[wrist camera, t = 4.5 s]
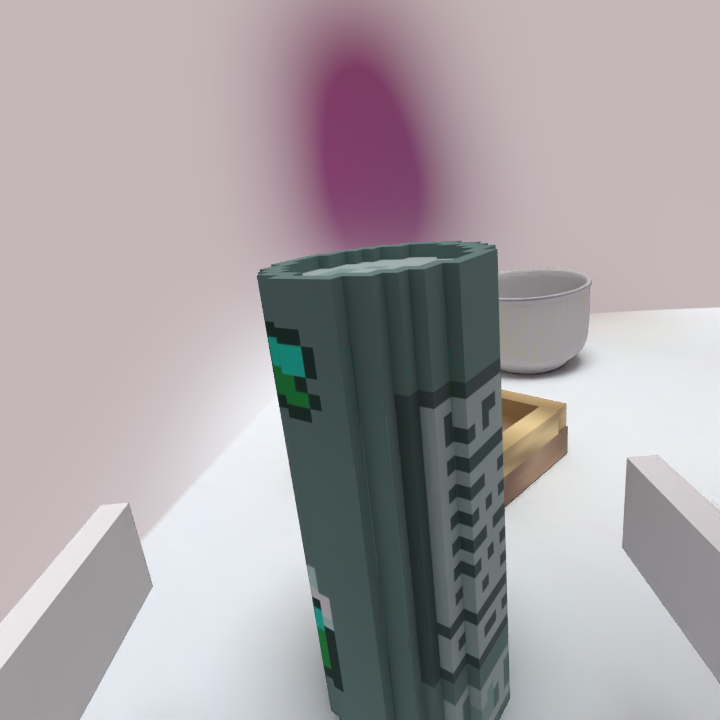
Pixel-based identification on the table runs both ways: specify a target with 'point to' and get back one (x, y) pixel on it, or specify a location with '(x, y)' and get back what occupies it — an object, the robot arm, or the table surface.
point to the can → (398, 471)
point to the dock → (530, 439)
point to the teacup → (542, 318)
